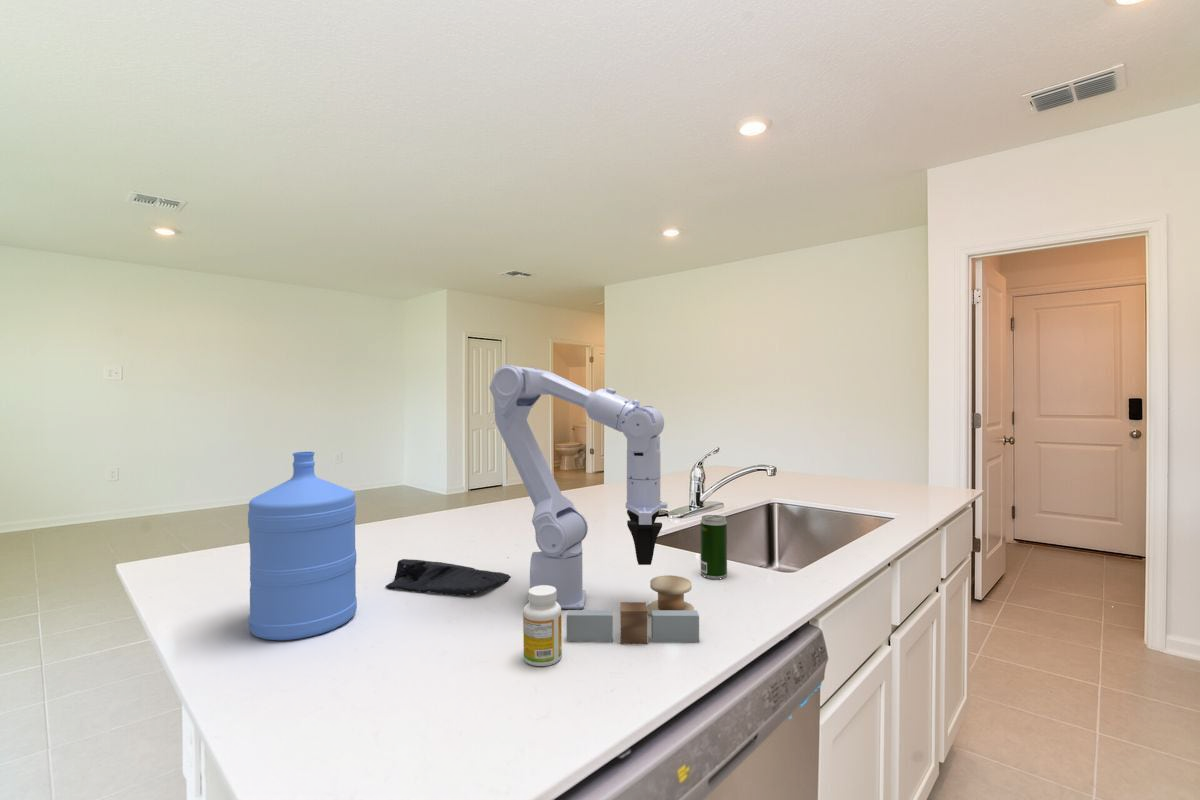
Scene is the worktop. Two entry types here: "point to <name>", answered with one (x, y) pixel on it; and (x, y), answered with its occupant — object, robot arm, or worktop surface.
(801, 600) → the worktop surface
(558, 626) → the supplement bottle
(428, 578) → the dark slate chunk
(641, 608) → the block
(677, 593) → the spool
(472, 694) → the worktop surface
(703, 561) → the beer can
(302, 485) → the water jug
